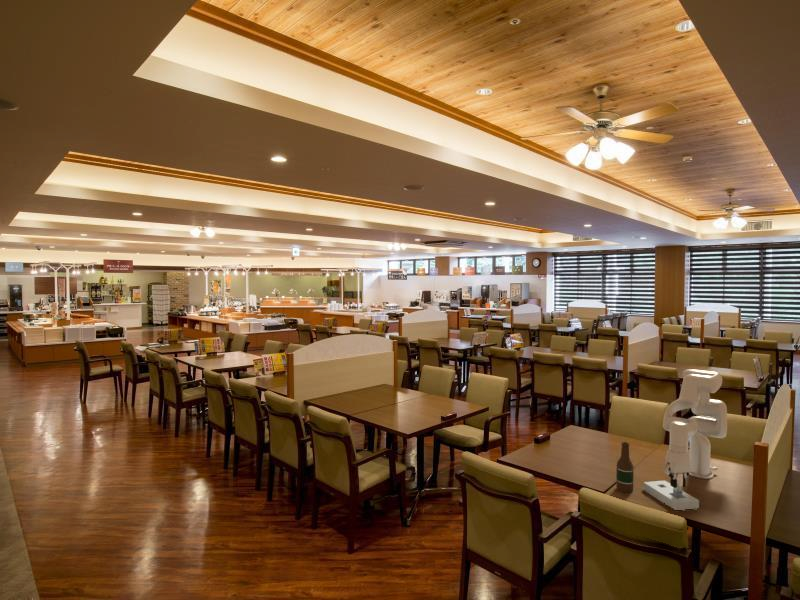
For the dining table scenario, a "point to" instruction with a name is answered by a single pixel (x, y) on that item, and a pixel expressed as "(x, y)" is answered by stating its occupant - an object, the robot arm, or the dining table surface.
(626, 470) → the beer bottle
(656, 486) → the manifold block
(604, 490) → the dining table surface
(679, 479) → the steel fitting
